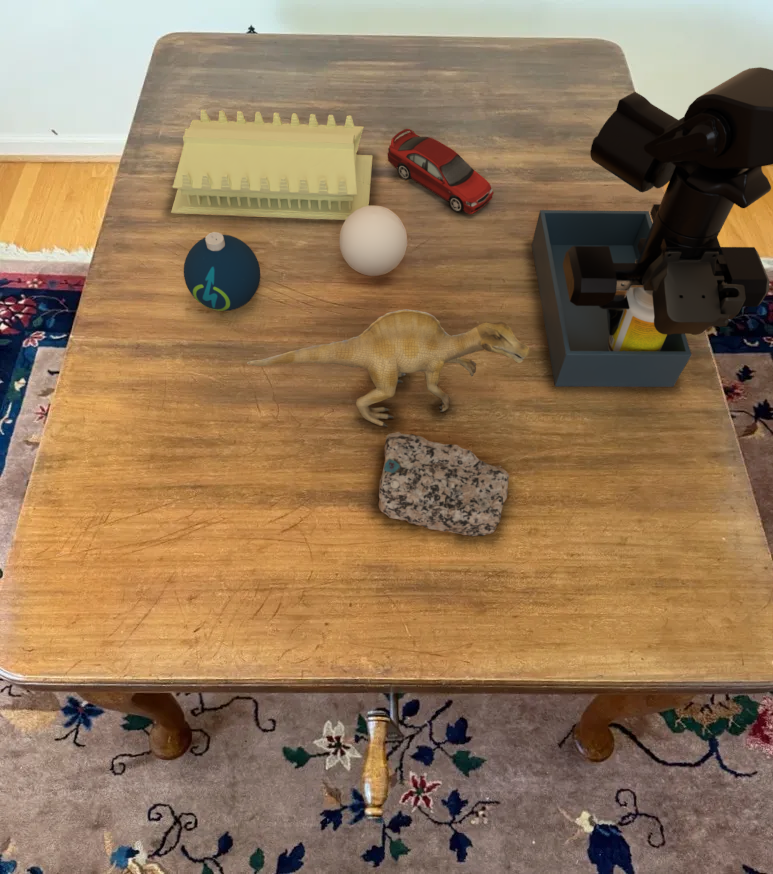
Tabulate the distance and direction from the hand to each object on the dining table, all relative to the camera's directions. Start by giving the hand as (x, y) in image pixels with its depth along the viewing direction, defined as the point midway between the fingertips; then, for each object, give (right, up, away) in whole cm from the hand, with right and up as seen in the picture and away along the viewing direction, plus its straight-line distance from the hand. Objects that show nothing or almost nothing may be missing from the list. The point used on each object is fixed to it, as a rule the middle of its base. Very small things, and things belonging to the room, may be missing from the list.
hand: (638, 332), depth 79 cm
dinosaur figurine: (-27, -7, 0) cm, 28 cm away
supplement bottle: (0, -2, +3) cm, 3 cm away
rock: (-21, -17, -6) cm, 28 cm away
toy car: (-20, +22, +19) cm, 35 cm away
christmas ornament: (-45, +5, +8) cm, 46 cm away
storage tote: (-2, +3, +8) cm, 9 cm away
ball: (-28, +9, +11) cm, 32 cm away
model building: (-42, +22, +19) cm, 51 cm away
